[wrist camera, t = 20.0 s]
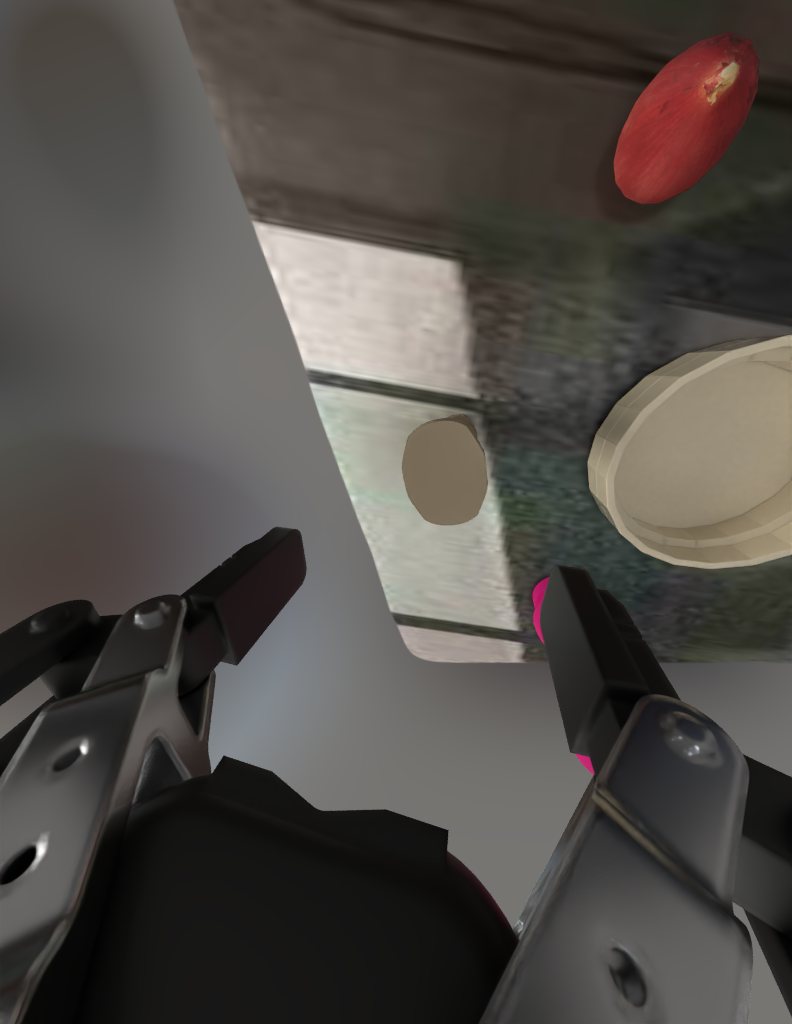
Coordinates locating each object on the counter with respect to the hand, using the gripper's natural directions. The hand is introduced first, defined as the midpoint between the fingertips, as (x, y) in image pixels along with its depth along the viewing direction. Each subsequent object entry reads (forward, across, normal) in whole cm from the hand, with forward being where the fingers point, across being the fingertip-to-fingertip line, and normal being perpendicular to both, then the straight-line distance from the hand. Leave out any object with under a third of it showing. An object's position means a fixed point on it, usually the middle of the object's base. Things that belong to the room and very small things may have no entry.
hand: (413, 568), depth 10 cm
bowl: (+24, -21, +1) cm, 32 cm away
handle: (+24, 0, 0) cm, 24 cm away
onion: (+24, -11, -18) cm, 32 cm away
